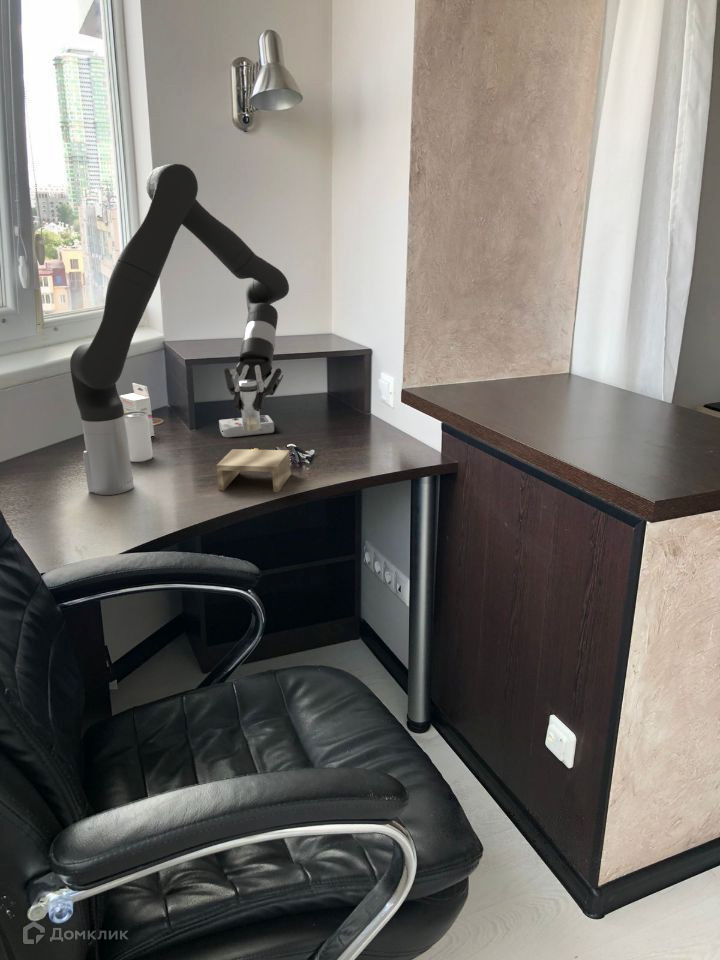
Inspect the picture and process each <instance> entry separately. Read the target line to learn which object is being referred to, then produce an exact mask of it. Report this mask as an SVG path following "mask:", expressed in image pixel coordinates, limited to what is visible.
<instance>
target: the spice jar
mask: <svg viewBox="0 0 720 960" xmlns="http://www.w3.org/2000/svg"><path fill="white" fill-rule="evenodd" d="M239 390H240V399H241V411H240V412H241V418H242V423H243V430H245V431H255V430H259V429H260V428H261V426H260V416H261V415H260V411H256V409H255V403H256V397H257V393H259V391H258V384H257V380H255V379H244V380H240V381H239Z"/></svg>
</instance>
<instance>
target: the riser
mask: <svg viewBox="0 0 720 960" xmlns="http://www.w3.org/2000/svg"><path fill="white" fill-rule="evenodd" d="M290 454H291V453H290V450H289V449H288V450H287V449H285V450H284V449H244V448H243V449H241V448H240V449H239V448H238V449H236V448H235V449H234V448H232V449H230V451H229V452H228V453H227V454H226V455H225V456H224V457H223V458H222V459H221V460H220V461H219V462H218V463H217V464H216V474H217V475H216V477H217V486H218V491H225V490H226V489H227V488H228V487H229V485H230V484H231V483H232V481H234V479H235V478H236V477H237V476H238V475H239V474H240V472H271V474H272V490H273V492H274V493H280V491H281V490H282V488H283V486H284V485H285V484H286V482H287V480H288V479H289V478H290V476H291V474H292V471H291V455H290Z"/></svg>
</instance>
